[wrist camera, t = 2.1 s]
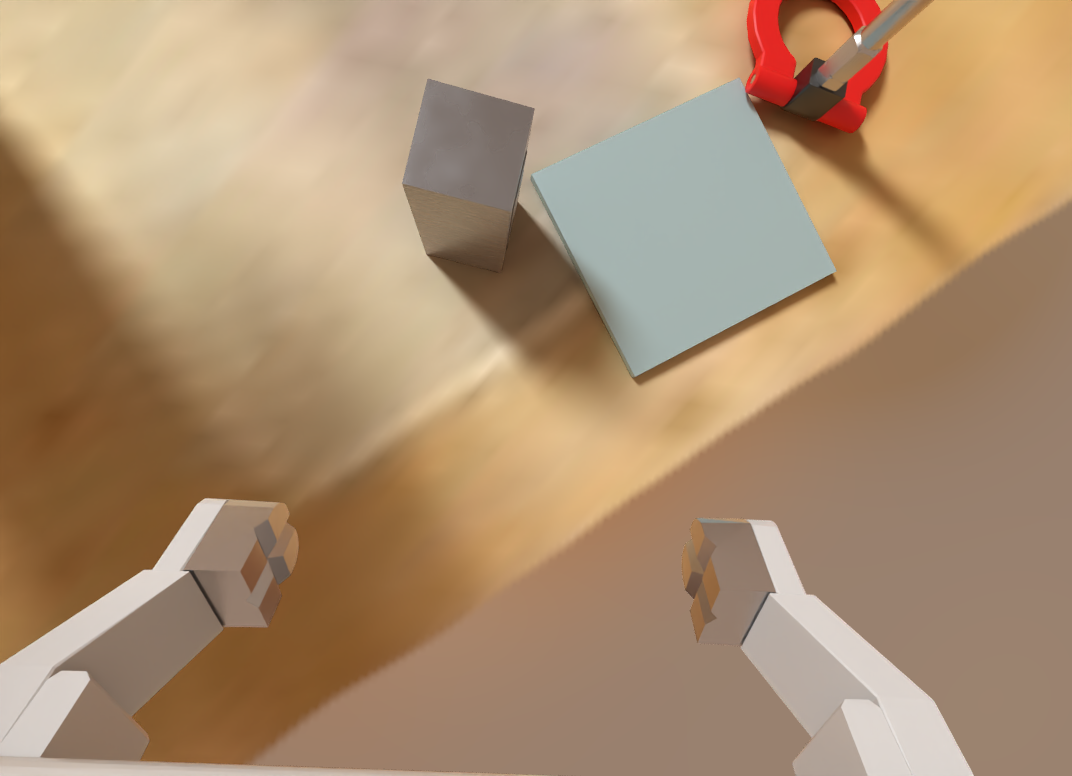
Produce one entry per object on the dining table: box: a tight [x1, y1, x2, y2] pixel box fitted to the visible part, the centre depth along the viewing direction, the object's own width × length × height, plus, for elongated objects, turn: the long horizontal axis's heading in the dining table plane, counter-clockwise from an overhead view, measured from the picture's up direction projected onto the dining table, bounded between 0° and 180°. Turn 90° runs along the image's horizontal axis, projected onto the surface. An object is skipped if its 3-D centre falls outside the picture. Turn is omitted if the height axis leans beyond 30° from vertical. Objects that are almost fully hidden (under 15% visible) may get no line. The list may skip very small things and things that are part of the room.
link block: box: [402, 79, 534, 273], centre depth 24 cm, size 4×4×9 cm
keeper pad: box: [531, 78, 836, 377], centre depth 29 cm, size 13×12×1 cm
